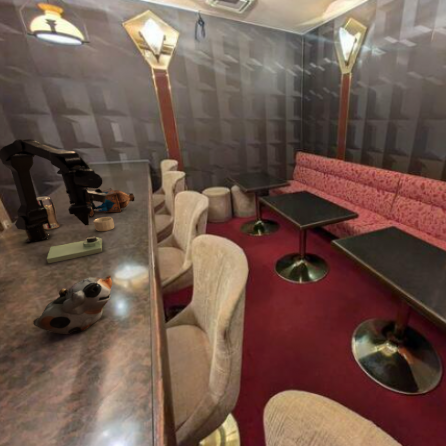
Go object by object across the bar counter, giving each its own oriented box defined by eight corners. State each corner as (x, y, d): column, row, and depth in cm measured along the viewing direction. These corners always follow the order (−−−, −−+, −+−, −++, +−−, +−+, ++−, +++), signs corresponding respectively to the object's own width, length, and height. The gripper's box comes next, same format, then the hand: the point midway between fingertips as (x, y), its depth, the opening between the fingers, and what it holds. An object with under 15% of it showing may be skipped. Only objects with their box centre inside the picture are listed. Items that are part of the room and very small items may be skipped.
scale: (48, 263, 91) (45, 255, 90) (52, 251, 100) (49, 243, 99) (103, 251, 101) (101, 244, 100) (102, 241, 110) (100, 234, 108)
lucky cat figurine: (71, 302, 72) (89, 260, 72) (112, 317, 74) (130, 275, 73) (18, 328, 57) (40, 275, 57) (71, 346, 59) (93, 294, 58)
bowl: (96, 228, 123) (93, 218, 121) (114, 225, 127) (111, 215, 125) (96, 233, 117) (93, 223, 116) (115, 229, 122) (112, 220, 120)
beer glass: (49, 230, 118) (38, 200, 112) (37, 229, 119) (26, 199, 114) (64, 225, 124) (55, 197, 119) (53, 224, 125) (43, 195, 120)
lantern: (90, 226, 140) (139, 214, 157) (86, 210, 129) (139, 199, 146) (79, 203, 144) (128, 194, 161) (75, 186, 132) (128, 178, 149)
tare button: (87, 243, 101) (86, 239, 100) (87, 240, 103) (86, 237, 102) (96, 241, 102) (95, 238, 102) (96, 239, 104) (95, 235, 104)
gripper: (102, 188, 92) (112, 227, 98) (101, 179, 105) (110, 213, 111) (62, 192, 85) (75, 233, 91) (66, 182, 99) (78, 218, 105)
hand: (87, 223), depth 100 cm, fingers open, 3 cm apart
